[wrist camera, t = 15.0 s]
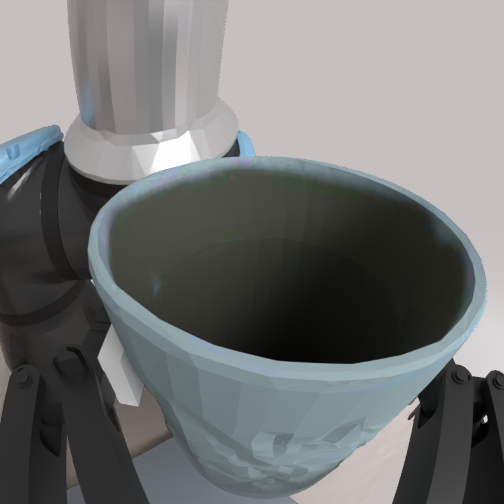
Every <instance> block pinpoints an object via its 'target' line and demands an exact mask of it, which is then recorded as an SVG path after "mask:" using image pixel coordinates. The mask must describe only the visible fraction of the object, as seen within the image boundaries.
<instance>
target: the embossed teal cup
mask: <svg viewBox="0 0 504 504" xmlns="http://www.w3.org/2000/svg"><path fill="white" fill-rule="evenodd" d="M87 251H88V262H89V270H90V273H91V276H92V279H93V282H94V285H95V287H96V290H97V292H98V294H99V296H100V298H101V300H102V302H103V304H104V307H105V309H106V311H107V314H108V316H109V318H110V321H111V323H112V325H113V327H114V329H115V332H116V334H117V336H118V338H119V340H120V343H121V345H122V347H123V349H124V351H125V353H126V355H127V357H128V359H129V361H130V363H131V365H132V367H133V369H134V371H135V372H136V373H137V375H138V376H139V378H140V379H141V381H142V382H143V384H144V385H145V386H146V387H147V389H148V390H149V391H150V392H151V394H152V395H153V396H154V397H155V399H156V400H157V402H158V403H159V405H160V406H161V409H162V412H163V415H164V417H165V423H166V425H167V428H168V429H169V430H170V431H171V432H172V435H173V437H174V438H175V440H176V442H177V443H178V445H179V447H180V448H181V450H182V451H183V453H184V454H185V456H186V457H187V459H188V460H189V462H190V463H191V464H192V465H193V467H194V468H195V469H196V470H197V472H199V473H200V474H201V475H202V476H203V477H205V478H206V479H207V480H208V481H210V482H211V483H212V484H213V485H215V486H217V487H218V488H220V489H222V490H224V491H226V492H228V493H231V494H235V495H238V496H242V497H248V498H253V499H262V500H265V499H275V498H282V497H286V496H290V495H293V494H296V493H298V492H301V491H303V490H305V489H307V488H309V487H311V486H312V485H314V484H315V483H317V482H318V481H320V480H321V479H322V478H324V477H325V476H326V475H327V474H329V473H330V472H331V471H333V470H334V469H336V468H337V467H338V466H339V464H340V463H341V462H343V461H344V459H346V458H347V457H349V456H350V455H351V454H352V453H353V452H354V450H355V449H356V448H358V447H360V446H363V445H365V444H366V443H367V442H369V441H370V440H371V439H373V438H374V437H375V436H376V435H377V434H378V432H379V431H380V430H381V429H383V428H384V427H385V426H386V425H387V424H388V423H390V422H391V421H392V420H393V419H394V418H395V417H396V416H397V415H398V414H399V413H400V412H401V411H402V410H403V409H404V408H405V407H406V406H407V405H408V404H409V403H410V402H411V401H412V400H413V399H414V398H415V397H416V396H417V395H418V394H419V393H420V392H421V391H422V390H423V389H424V388H425V387H426V386H427V385H428V384H429V383H430V382H431V381H432V380H433V379H434V378H435V376H436V375H437V374H438V373H439V372H440V371H441V370H442V369H443V368H444V366H445V365H446V364H447V363H448V362H449V361H450V359H451V358H452V357H453V356H454V355H455V353H456V352H457V351H458V350H459V349H460V347H461V346H462V345H463V344H464V342H465V341H466V340H467V339H468V337H469V336H470V335H471V333H472V332H473V331H474V329H475V328H476V326H477V325H478V323H479V321H480V319H481V317H482V314H483V312H484V308H485V304H486V299H487V282H486V277H485V272H484V268H483V264H482V261H481V258H480V256H479V255H478V253H477V251H476V250H475V248H474V246H473V245H472V243H471V241H470V240H469V238H468V237H467V235H466V234H465V233H464V232H463V231H462V230H461V229H460V228H459V227H458V226H457V225H456V224H455V223H454V222H453V221H452V220H451V219H450V218H449V217H448V216H447V215H446V214H445V213H444V212H442V211H441V210H439V209H438V208H436V207H435V206H433V205H432V204H430V203H429V202H427V201H426V200H424V199H423V198H421V197H420V196H418V195H416V194H414V193H412V192H410V191H408V190H407V189H405V188H403V187H400V186H398V185H396V184H393V183H391V182H389V181H386V180H384V179H381V178H378V177H376V176H373V175H370V174H367V173H364V172H361V171H357V170H353V169H349V168H345V167H341V166H337V165H333V164H328V163H324V162H318V161H312V160H306V159H298V158H289V157H268V156H245V157H226V158H216V159H207V160H202V161H196V162H191V163H186V164H182V165H178V166H174V167H170V168H167V169H164V170H161V171H158V172H155V173H152V174H150V175H148V176H146V177H144V178H142V179H139V180H137V181H135V182H133V183H132V184H130V185H128V186H127V187H125V188H124V189H122V190H121V191H119V192H118V193H117V194H116V195H115V196H114V197H112V198H111V199H110V200H109V201H108V202H107V203H106V204H105V205H104V206H103V207H102V208H101V209H100V211H99V212H98V214H97V216H96V218H95V220H94V222H93V224H92V226H91V230H90V236H89V243H88V250H87Z"/></svg>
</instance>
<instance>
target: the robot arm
mask: <svg viewBox="0 0 504 504" xmlns="http://www.w3.org/2000/svg"><path fill="white" fill-rule="evenodd" d="M67 6H68V24H69V37H70V47H71V56H72V65H73V72H74V80H75V86H76V93H77V99H78V104H79V109H80V113H79V115H78V116H77V117H76V119H75V120H74V122H73V123H72V124H71V126H70V128H69V129H68V131H67V133H66V136H65V139H64V142H63V141H62V139H63V133H62V132H61V130H60V128H59V126H57V125H52V126H48V127H43V128H41V129H37V130H34V131H32V132H29V133H27V134H24V135H21V136H19V137H17V138H14V139H12V140H10V141H7V142H5V143H3V144H2V145H0V343H1V348H2V352H3V356H4V359H5V361H6V363H7V365H8V367H9V369H10V370H11V372H12V374H11V376H10V379H9V383H8V387H7V392H6V396H5V401H4V406H3V411H2V417H1V423H0V504H67V485H66V444H67V436H68V441H69V445H70V450H71V454H72V458H73V462H74V466H75V470H76V474H77V478H78V481H79V485H80V488H81V491H82V494H83V498H84V501H85V504H150V503H149V501H148V498H147V496H146V494H145V491H144V489H143V487H142V484H141V482H140V480H139V477H138V475H137V472H136V469H135V467H134V464H133V462H132V459H131V456H130V453H129V451H128V448H127V445H126V442H125V439H124V436H123V433H122V430H121V427H120V424H119V420H118V417H117V414H116V410H115V408H114V407H113V403H114V400H115V397H117V399H118V401H119V403H121V404H127V405H132V406H138V407H139V404H140V400H141V396H142V392H143V388H144V384H143V382H142V381H141V379H140V378H139V376H138V375H137V373H136V372H135V371H134V369H133V367H132V365H131V363H130V361H129V359H128V357H127V355H126V353H125V351H124V349H123V347H122V345H121V343H120V340H119V338H118V336H117V334H116V332H115V329H114V327H113V325H112V323H111V321H110V318H109V316H108V314H107V311H106V309H105V307H104V304H103V302H102V300H101V298H100V296H99V294H98V292H97V290H96V287H95V286H94V284H93V283H92V282H91V279H92V276H91V273H90V270H89V262H88V251H87V250H88V243H89V236H90V230H91V226H92V224H93V222H94V220H95V218H96V216H97V214H98V212H99V211H100V209H101V208H102V207H103V206H104V205H105V204H106V203H107V202H108V201H109V200H110V199H111V198H112V197H114V196H115V195H116V194H117V193H118V192H119V191H121V190H122V189H124V188H125V187H127V186H128V185H130V184H132V183H133V182H135V181H137V180H139V179H142V178H144V177H146V176H148V175H150V174H152V173H155V172H158V171H161V170H164V169H167V168H170V167H174V166H178V165H182V164H186V163H191V162H196V161H202V160H207V159H216V158H226V157H245V156H255V152H254V148H253V145H252V142H251V140H250V138H249V137H248V136H247V134H245V133H244V132H242V131H238V121H237V118H236V115H235V114H234V112H233V110H232V109H231V108H230V107H229V106H228V105H227V104H226V103H225V102H224V101H222V100H221V99H220V98H219V97H218V96H217V92H218V83H219V73H220V64H221V56H222V47H223V39H224V31H225V23H226V15H227V8H228V0H67ZM417 396H418V398H419V401H420V404H419V405H418V406H417V407H416V408H415V409H414V411H413V412H412V413H411V414H410V415H409V417H408V420H410V419H411V418H412V417H413V416H414V415H415V418H414V420H413V421H414V423H413V428H412V433H411V437H410V442H409V446H408V450H407V455H406V458H405V462H404V467H403V470H402V473H401V477H400V480H399V484H398V487H397V491H396V493H395V497H394V500H393V503H392V504H504V374H503V373H501V372H500V371H497V370H494V371H491V372H490V373H489V374H488V375H487V376H486V377H485V378H481V377H474V376H472V375H471V373H470V372H469V371H468V370H467V369H466V368H465V367H463V366H461V365H456V364H455V362H454V360H453V358H451V359H450V361H449V362H448V363H447V364H446V365H445V366H444V368H443V369H442V370H441V371H440V372H439V373H438V374H437V375H436V376H435V378H434V379H433V380H432V381H431V382H430V383H429V384H428V385H427V386H426V387H425V388H424V389H423V390H422V391H421V392H420V393H419V394H418V395H417ZM417 396H416V397H415V398H414V399H413V400H412V401H411V402H410V403H409V404H408V405H411V404H412V403H413V401H414V400H415V399H416V398H417ZM486 415H487V418H488V421H487V422H486V423H485V422H484V420H483V418H484V417H485V416H486Z"/></svg>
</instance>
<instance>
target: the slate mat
mask: <svg viewBox="0 0 504 504" xmlns="http://www.w3.org/2000/svg"><path fill="white" fill-rule="evenodd" d="M132 462H133V464H134V467H135V469H136V472H137V475H138V477H139V480H140V482H141V484H142V487H143V489H144V491H145V494H146V496H147V498H148V501H149V503H150V504H298V503H296V502H295V501H294V500H293V499H291V498H290V497H289V496H286V497H282V498H275V499H265V500H262V499H253V498H248V497H242V496H238V495H235V494H231V493H228V492H226V491H224V490H222V489H220V488H218V487H217V486H215V485H213V484H212V483H211V482H210V481H208V480H207V479H206V478H205V477H203V476H202V475H201V474H200V473H199V472H197V470H196V469H195V468H194V467H193V465H192V464H191V463H190V462H189V460H188V459H187V457H186V456H185V454H184V453H183V451H182V450H181V448H180V447H179V445H178V443H177V442H176V440H175V438H174V437H172V438H170V439H168V440H166V441H165V442H163V443H161V444H159V445H157V446H156V447H154V448H152V449H150V450H148V451H146V452H145V453H143V454H141V455H139V456H137V457H135V458H133V459H132ZM67 504H85V501H84V498H83V494H82V491H81V488H80V485H79V484H78V485H76V486H74V487H71V488H69V489H67Z"/></svg>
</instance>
